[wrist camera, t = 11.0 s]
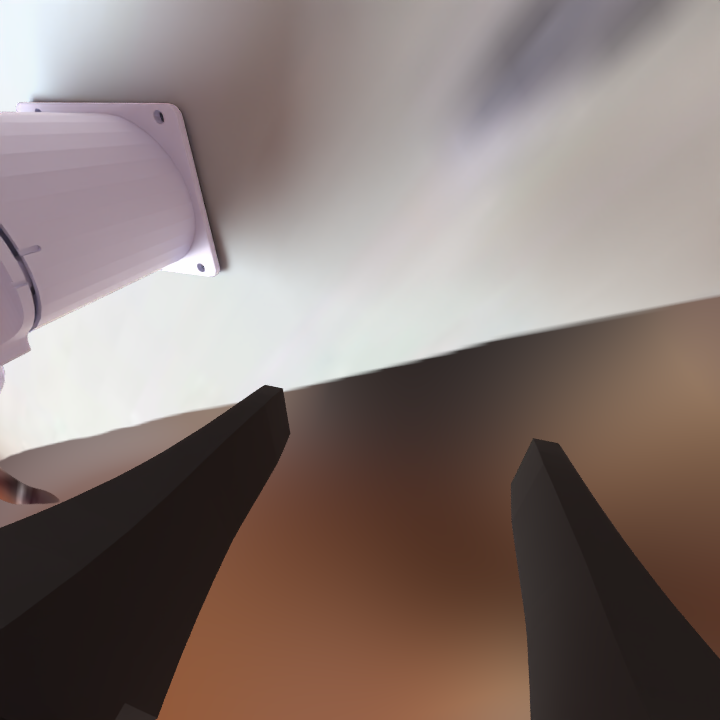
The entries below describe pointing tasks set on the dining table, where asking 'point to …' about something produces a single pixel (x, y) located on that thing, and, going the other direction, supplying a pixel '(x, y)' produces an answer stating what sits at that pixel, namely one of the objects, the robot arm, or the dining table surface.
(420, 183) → the dining table surface
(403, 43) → the dining table surface
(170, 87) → the dining table surface
